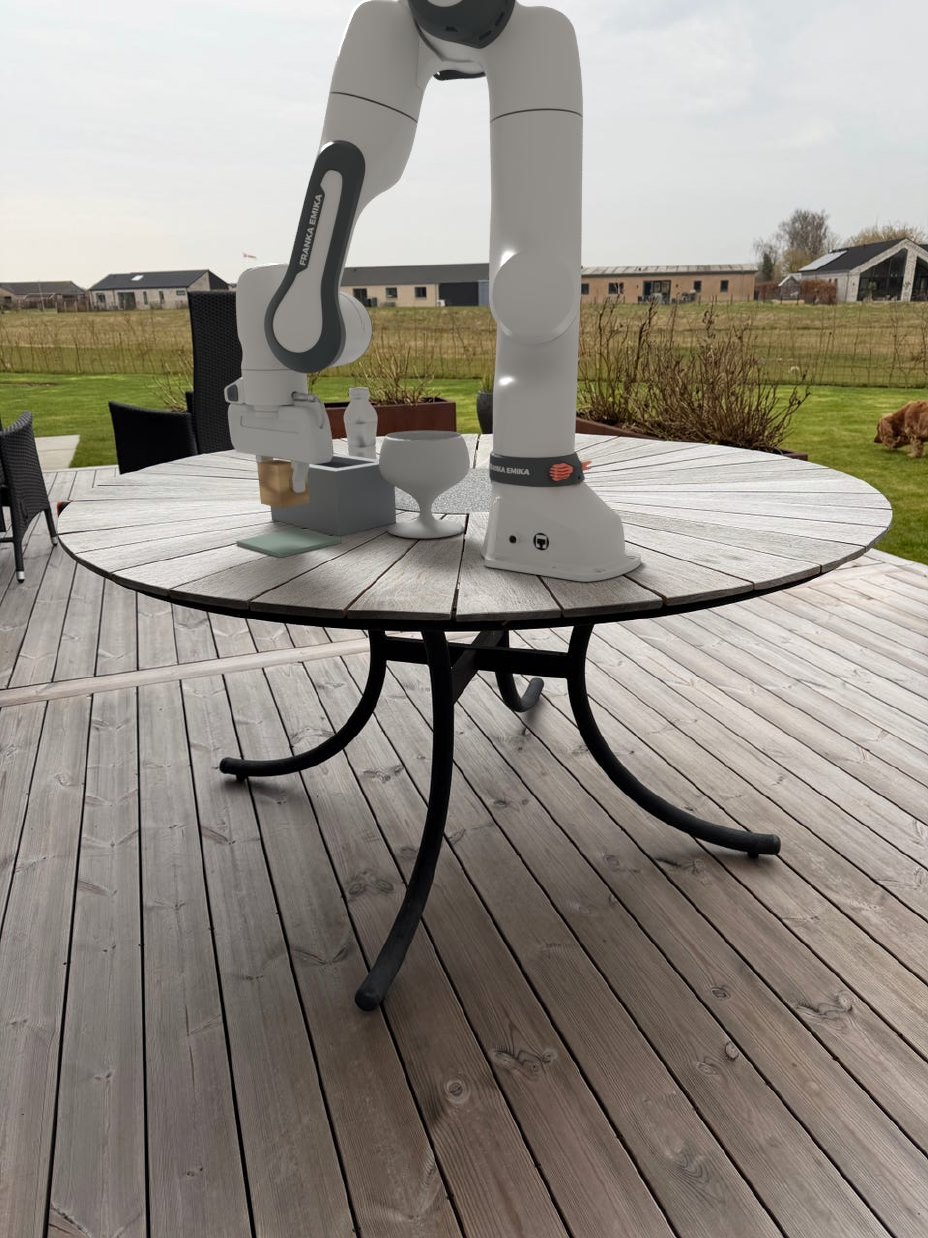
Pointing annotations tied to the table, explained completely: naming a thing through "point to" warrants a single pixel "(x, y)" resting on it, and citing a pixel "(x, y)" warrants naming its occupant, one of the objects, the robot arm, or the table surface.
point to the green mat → (288, 542)
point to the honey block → (279, 484)
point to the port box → (343, 497)
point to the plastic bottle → (361, 424)
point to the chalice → (424, 475)
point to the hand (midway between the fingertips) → (284, 488)
